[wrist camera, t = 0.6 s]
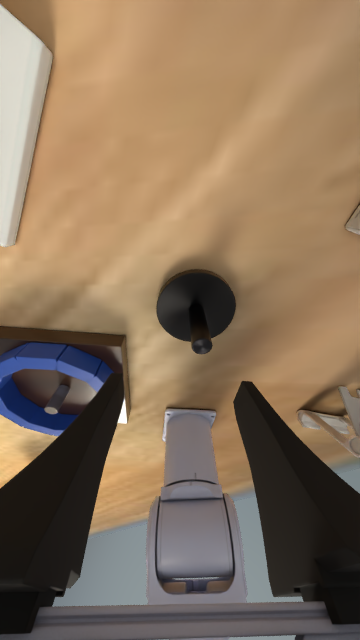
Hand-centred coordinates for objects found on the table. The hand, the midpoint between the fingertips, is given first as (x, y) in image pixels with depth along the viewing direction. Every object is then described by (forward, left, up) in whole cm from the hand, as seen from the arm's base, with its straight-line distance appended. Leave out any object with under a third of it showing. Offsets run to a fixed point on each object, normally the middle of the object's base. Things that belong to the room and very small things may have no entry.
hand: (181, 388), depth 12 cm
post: (0, -2, -10) cm, 10 cm away
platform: (-12, +13, -10) cm, 20 cm away
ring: (-12, +13, -8) cm, 19 cm away
